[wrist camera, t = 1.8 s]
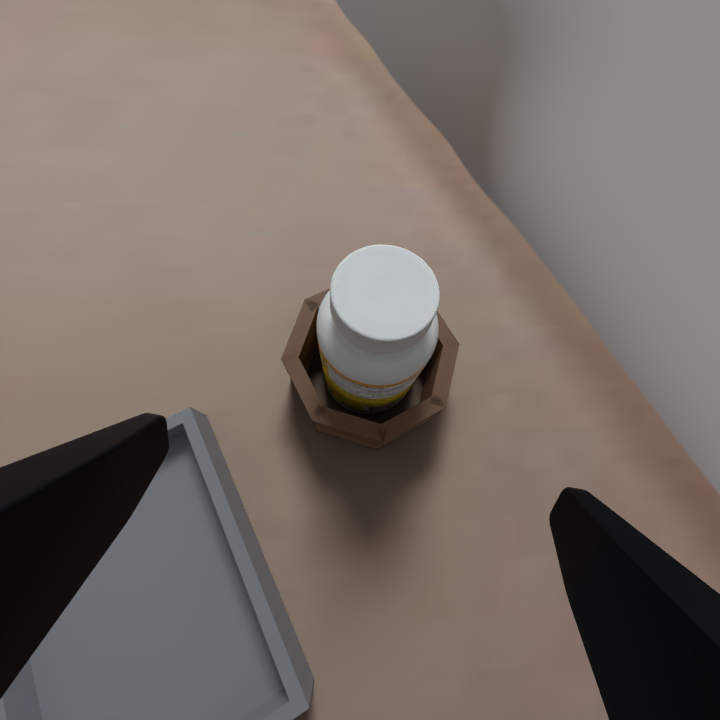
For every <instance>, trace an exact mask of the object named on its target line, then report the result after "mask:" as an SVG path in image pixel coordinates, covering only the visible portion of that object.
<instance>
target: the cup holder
mask: <svg viewBox="0 0 720 720" xmlns="http://www.w3.org/2000/svg"><path fill="white" fill-rule="evenodd" d="M329 290H330V289H328V290H325V291H323V292H321V293H319V294H316V295H314V296H312V297H310V298H307V299H305V300H304V303H303V305H302V308H301V310H300V313H299V316H298V318H297V321H296V323H295V326H294V328H293V331H292V333H291V336H290V338H289V341H288V343H287V346H286V348H285V351H284V353H283V356H282V358H281V360H282V362H283V364H284V366H285V368H286V370H287V372H288V374H289V376H290V378H291V379H292V381H293V383H294V385H295V387H296V389H297V391H298V393H299V395H300V397H301V399H302V401H303V403H304V405H305V407H306V409H307V411H308V413H309V415H310V417H311V419H312V422H313V424H314V426H315V428H316V430H317V431H319V432H322V433H326V434H329V435H332V436H335V437H339V438H342V439H345V440H348V441H352V442H355V443H358V444H361V445H365V446H368V447H371V448H374V449H378V448H380V447H382V446H383V445H385V444H387V443H389V442H391V441H392V440H394V439H396V438H398V437H400V436H401V435H403V434H405V433H407V432H408V431H410V430H412V429H414V428H416V427H417V426H419V425H421V424H423V423H425V422H426V421H428V420H430V419H431V418H433V417H434V416H435V415H437V414H438V413H439V412H441V411H442V410H443V409H445V408H446V403H447V399H448V394H449V389H450V385H451V380H452V376H453V371H454V366H455V362H456V357H457V352H458V348H459V343H458V341H457V340H456V338H455V337H454V335H453V334H452V332H451V331H450V329H449V328H448V326H447V325H446V323H445V322H444V320H443V319H442V317H441V316H440V314H439V313H438V311H437V313H436V314H437V318H438V326H439V332H438V340H437V344H436V347H435V350H434V352H433V354H432V356H431V358H430V359H429V361H428V362H427V365H428V370H427V374H426V378H425V382H424V386H423V390H422V394H421V398H420V402H419V404H417V405H415V406H413V407H412V408H410V409H408V410H406V411H404V412H402V413H401V414H399V415H397V416H395V417H393V418H391V419H390V420H388V421H386V422H384V423H382V424H379V423H376V422H372V421H369V420H366V419H363V418H359V417H356V416H353V415H349V414H346V413H343V412H339V411H336V410H333V409H330V408H326V407H324V406H323V404H322V402H321V400H320V398H319V396H318V394H317V392H316V390H315V388H314V386H313V384H312V383H311V381H310V379H309V377H308V375H307V371H308V369H309V366H310V363H311V360H312V358H313V355H314V352H315V349H316V347H317V344H318V338H317V327H316V324H317V315H318V311H319V308H320V305H321V303H322V301H323V299H324V297H325V296H326V294H327V293H328V292H329Z"/></svg>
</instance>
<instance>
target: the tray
mask: <svg viewBox="0 0 720 720" xmlns="http://www.w3.org/2000/svg"><path fill="white" fill-rule="evenodd" d="M166 421H167V428H168V437H169V450H168V453H167V455H166V457H165V459H164V461H163V463H162V464H161V466H160V468H159V469H158V471H157V473H156V475H155V476H154V478H153V480H152V482H151V483H150V485H149V487H148V489H147V490H146V492H145V494H144V496H143V497H142V499H141V501H140V502H139V504H138V506H137V508H136V509H135V511H134V512H133V514H132V516H131V517H130V519H129V520H128V522H127V523H126V525H125V526H124V528H123V529H122V530H121V532H120V533H119V535H118V536H117V537H116V539H115V540H114V542H113V543H112V544H111V546H110V547H109V549H108V550H107V551H106V553H105V554H104V556H103V557H102V558H101V560H100V561H99V562H98V564H97V565H96V567H95V568H94V569H93V571H92V572H91V574H90V575H89V576H88V578H87V579H86V581H85V582H84V583H83V585H82V586H81V588H80V589H79V590H78V592H77V593H76V595H75V596H74V597H73V599H72V600H71V602H70V603H69V604H68V606H67V607H66V609H65V610H64V611H63V613H62V614H61V616H60V617H59V618H58V620H57V621H56V623H55V624H54V625H53V627H52V628H51V630H50V631H49V632H48V634H47V635H46V637H45V638H44V639H43V641H42V642H41V644H40V645H39V646H38V648H37V649H36V651H35V652H34V653H33V655H32V656H31V657H30V659H29V660H28V662H27V663H26V664H25V666H24V667H23V669H22V670H21V671H20V673H19V674H18V676H17V677H16V678H15V680H14V681H13V683H12V684H11V685H10V687H9V688H8V690H7V691H6V692H5V694H4V695H3V697H2V698H1V699H0V720H293V719H295V718H296V717H297V716H299V715H300V714H302V713H303V712H305V711H306V710H307V709H309V707H310V701H311V694H312V688H313V681H314V678H313V675H312V673H311V671H310V668H309V666H308V663H307V661H306V658H305V656H304V653H303V651H302V648H301V646H300V644H299V641H298V639H297V636H296V634H295V631H294V629H293V626H292V624H291V621H290V619H289V617H288V614H287V612H286V609H285V607H284V604H283V602H282V599H281V597H280V594H279V592H278V590H277V587H276V585H275V582H274V580H273V577H272V575H271V572H270V570H269V567H268V565H267V563H266V560H265V558H264V555H263V553H262V550H261V548H260V545H259V543H258V540H257V538H256V536H255V533H254V531H253V528H252V526H251V523H250V521H249V518H248V516H247V514H246V511H245V509H244V506H243V504H242V501H241V499H240V496H239V494H238V491H237V489H236V487H235V484H234V482H233V479H232V477H231V474H230V472H229V469H228V467H227V464H226V462H225V460H224V457H223V455H222V452H221V450H220V447H219V445H218V442H217V440H216V437H215V435H214V433H213V430H212V428H211V425H210V423H209V420H208V418H207V415H205V414H203V413H201V412H199V411H197V410H195V409H193V408H191V407H189V408H187V409H185V410H183V411H181V412H179V413H177V414H175V415H173V416H170V417H168V418H166Z"/></svg>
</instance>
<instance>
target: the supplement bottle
mask: <svg viewBox="0 0 720 720" xmlns="http://www.w3.org/2000/svg"><path fill="white" fill-rule="evenodd" d="M439 300H440V293H439V286H438V282H437V280H436V277H435V275H434V273H433V272H432V270H431V269H430V267H429V266H428V265H427V264H426V263H425V262H424V261H423V260H422V259H421V258H420V257H418V256H417V255H416V254H414V253H412V252H410V251H408V250H406V249H403V248H400V247H397V246H391V245H372V246H367V247H364V248H361V249H358V250H356V251H354V252H352V253H351V254H350V255H348V256H347V257H346V258H345V259H343V260H342V262H341V263H340V264H339V265H338V267H337V268H336V270H335V272H334V274H333V277H332V279H331V284H330V290H329V292H328V293H327V294H326V296H325V297H324V299H323V301H322V303H321V305H320V308H319V311H318V315H317V324H316V327H317V338H318V345H319V351H320V356H321V361H322V367H323V373H324V377H325V381H326V384H327V387H328V390H329V392H330V393H331V395H332V396H333V398H334V399H335V400H336V401H337V402H338V403H339V404H341V405H342V406H344V407H345V408H347V409H349V410H351V411H354V412H357V413H363V414H375V413H380V412H383V411H386V410H388V409H390V408H392V407H393V406H395V405H396V404H398V403H399V402H400V401H401V400H402V399H403V398H404V396H405V395H406V394H407V392H408V390H409V389H410V388H411V386H412V385H413V383H414V381H415V380H416V378H417V377H418V376H419V374H420V373H421V371H422V370H423V369H424V367H425V366H426V364H427V362H428V361H429V359H430V358H431V356H432V354H433V352H434V350H435V347H436V344H437V340H438V332H439V326H438V318H437V314H436V313H437V310H438V306H439Z"/></svg>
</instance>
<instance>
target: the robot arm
mask: <svg viewBox="0 0 720 720" xmlns="http://www.w3.org/2000/svg"><path fill="white" fill-rule="evenodd" d="M168 450H169V437H168V428H167V421H166V418H165V417H164V416H162V415H156V414H151V413H144V414H141V415H138V416H136V417H133V418H130V419H128V420H125V421H122V422H120V423H117V424H114V425H112V426H109V427H107V428H104V429H101V430H99V431H96V432H93V433H91V434H88V435H85V436H83V437H80V438H77V439H75V440H72V441H69V442H67V443H64V444H61V445H59V446H56V447H53V448H51V449H48V450H46V451H43V452H40V453H38V454H35V455H32V456H30V457H27V458H24V459H22V460H19V461H16V462H14V463H11V464H8V465H6V466H3V467H0V699H1V698H2V697H3V695H4V694H5V692H6V691H7V690H8V688H9V687H10V685H11V684H12V683H13V681H14V680H15V678H16V677H17V676H18V674H19V673H20V671H21V670H22V669H23V667H24V666H25V664H26V663H27V662H28V660H29V659H30V657H31V656H32V655H33V653H34V652H35V651H36V649H37V648H38V646H39V645H40V644H41V642H42V641H43V639H44V638H45V637H46V635H47V634H48V632H49V631H50V630H51V628H52V627H53V625H54V624H55V623H56V621H57V620H58V618H59V617H60V616H61V614H62V613H63V611H64V610H65V609H66V607H67V606H68V604H69V603H70V602H71V600H72V599H73V597H74V596H75V595H76V593H77V592H78V590H79V589H80V588H81V586H82V585H83V583H84V582H85V581H86V579H87V578H88V576H89V575H90V574H91V572H92V571H93V569H94V568H95V567H96V565H97V564H98V562H99V561H100V560H101V558H102V557H103V556H104V554H105V553H106V551H107V550H108V549H109V547H110V546H111V544H112V543H113V542H114V540H115V539H116V537H117V536H118V535H119V533H120V532H121V530H122V529H123V528H124V526H125V525H126V523H127V522H128V520H129V519H130V517H131V516H132V514H133V512H134V511H135V509H136V508H137V506H138V504H139V502H140V501H141V499H142V497H143V496H144V494H145V492H146V490H147V489H148V487H149V485H150V483H151V482H152V480H153V478H154V476H155V475H156V473H157V471H158V469H159V468H160V466H161V464H162V463H163V461H164V459H165V457H166V455H167V453H168ZM549 520H550V527H551V531H552V535H553V539H554V544H555V548H556V552H557V556H558V560H559V565H560V569H561V573H562V577H563V581H564V585H565V589H566V593H567V596H568V599H569V603H570V606H571V609H572V612H573V615H574V618H575V621H576V624H577V627H578V629H579V632H580V635H581V638H582V641H583V644H584V647H585V650H586V653H587V656H588V659H589V662H590V665H591V668H592V671H593V674H594V676H595V679H596V682H597V685H598V688H599V691H600V694H601V697H602V700H603V703H604V706H605V709H606V712H607V715H608V718H609V720H720V594H719V593H718V592H716V591H715V590H714V589H712V588H711V587H710V586H709V585H707V584H706V583H705V582H703V581H702V580H701V579H700V578H698V577H697V576H696V575H694V574H693V573H692V572H691V571H689V570H688V569H687V568H686V567H684V566H683V565H682V564H680V563H679V562H678V561H677V560H675V559H674V558H673V557H671V556H670V555H669V554H668V553H666V552H665V551H664V550H662V549H661V548H660V547H659V546H657V545H656V544H655V543H653V542H652V541H651V540H650V539H648V538H647V537H646V536H644V535H643V534H642V533H641V532H639V531H638V530H637V529H635V528H634V527H633V526H632V525H630V524H629V523H628V522H627V521H625V520H624V519H623V518H621V517H620V516H619V515H618V514H616V513H615V512H614V511H612V510H611V509H610V508H609V507H607V506H606V505H605V504H603V503H602V502H601V501H600V500H598V499H597V498H596V497H594V496H593V495H592V494H591V493H589V492H588V491H586V490H583V489H577V488H572V487H567V488H565V489H563V490H562V492H561V494H560V496H559V498H558V499H557V501H556V503H555V505H554V507H553V509H552V510H551V513H550V519H549Z"/></svg>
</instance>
